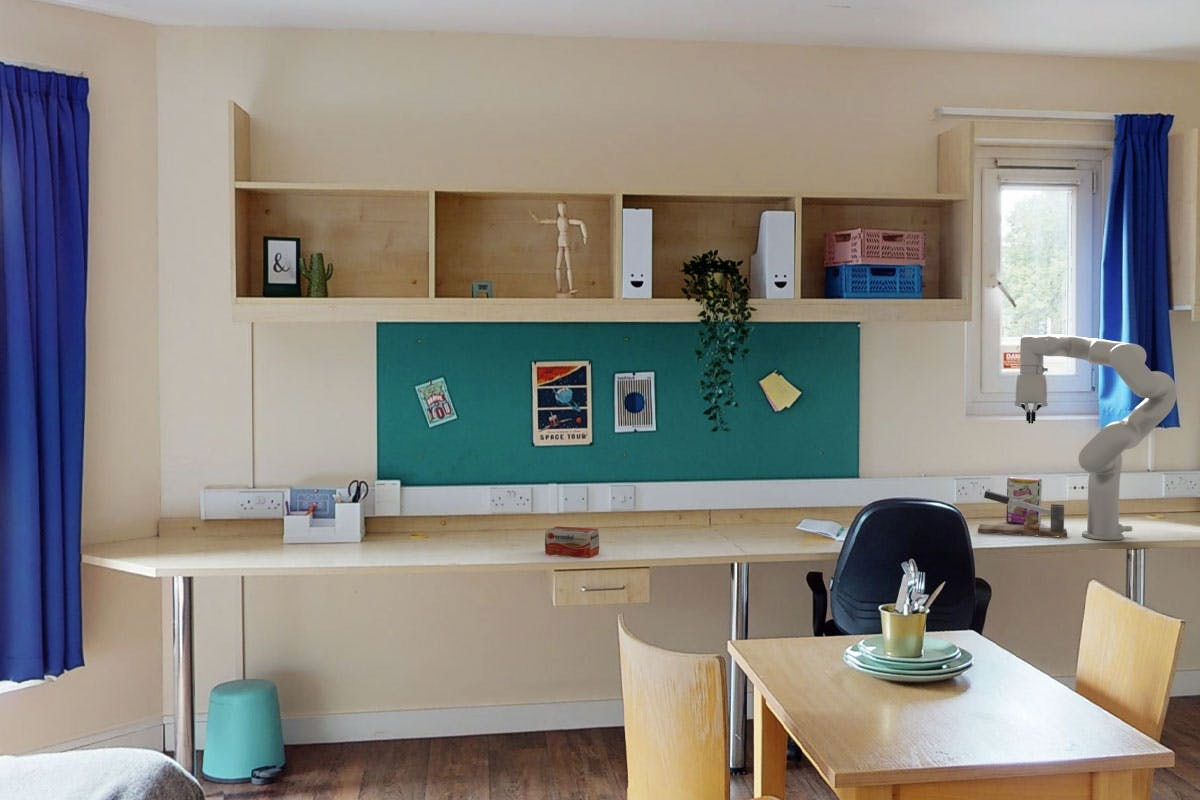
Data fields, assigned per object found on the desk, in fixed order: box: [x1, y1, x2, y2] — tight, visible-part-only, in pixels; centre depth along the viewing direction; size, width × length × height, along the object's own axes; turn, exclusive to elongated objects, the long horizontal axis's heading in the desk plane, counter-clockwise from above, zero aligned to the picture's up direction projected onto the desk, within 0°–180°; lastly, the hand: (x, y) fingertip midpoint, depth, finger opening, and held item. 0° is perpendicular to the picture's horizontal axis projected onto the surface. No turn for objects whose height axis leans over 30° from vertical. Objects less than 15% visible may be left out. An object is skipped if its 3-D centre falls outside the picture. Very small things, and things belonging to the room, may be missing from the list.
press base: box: [977, 503, 1068, 538], centre depth 370 cm, size 28×10×10 cm, turn 68°
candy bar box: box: [1005, 476, 1043, 525], centre depth 390 cm, size 11×5×16 cm, turn 58°
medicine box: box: [544, 525, 600, 559], centre depth 334 cm, size 15×8×8 cm, turn 69°
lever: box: [983, 490, 1051, 516], centre depth 369 cm, size 25×4×2 cm, turn 69°
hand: (1030, 423), depth 377 cm, fingers closed
